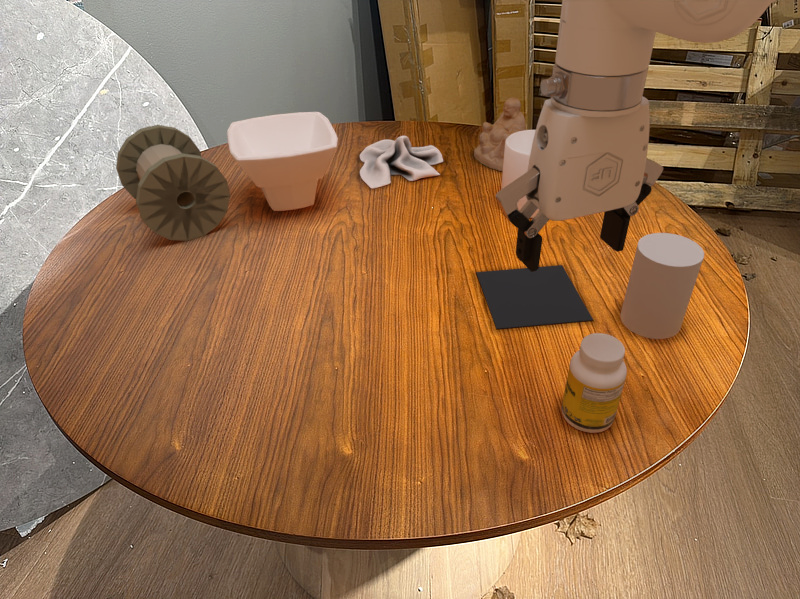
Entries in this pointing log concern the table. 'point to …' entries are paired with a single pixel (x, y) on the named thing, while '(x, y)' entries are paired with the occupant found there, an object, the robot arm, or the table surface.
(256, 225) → the table surface
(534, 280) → the mat
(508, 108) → the statue
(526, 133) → the white cylinder
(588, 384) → the pill bottle
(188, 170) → the spool
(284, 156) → the bowl
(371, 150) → the cloth
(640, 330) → the grey upright cylinder
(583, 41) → the robot arm
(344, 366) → the table surface
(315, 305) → the table surface
